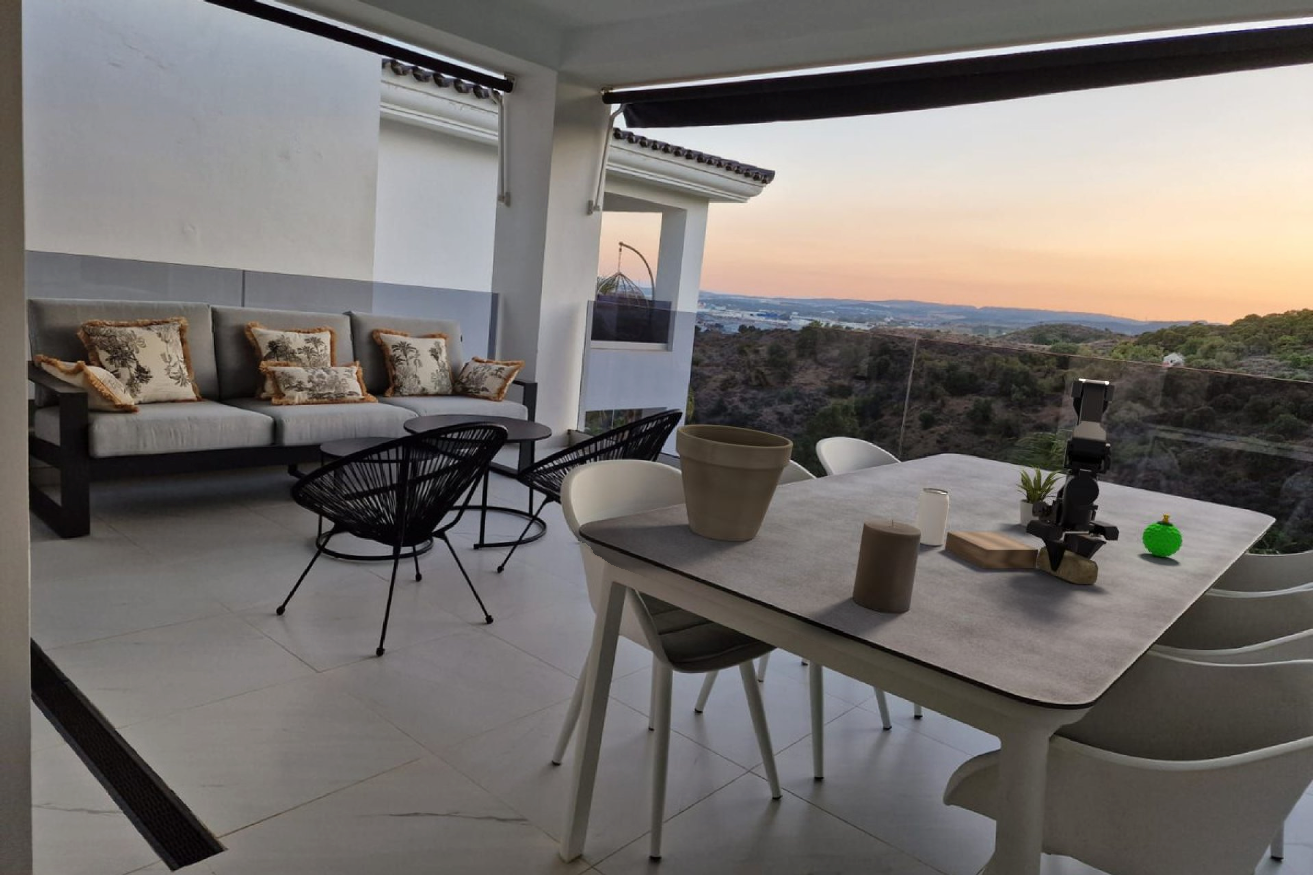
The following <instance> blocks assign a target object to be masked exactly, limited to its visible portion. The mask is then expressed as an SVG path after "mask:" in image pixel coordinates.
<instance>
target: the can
mask: <svg viewBox="0 0 1313 875" xmlns="http://www.w3.org/2000/svg"><path fill="white" fill-rule="evenodd" d="M949 493H950V492H949V491H947V490H945V489H941V488H935V487H922V490H921V492H920V494H919V498H918V503H917V508H916V509H917V511H916V517H915V525H914V527H916V528H918V529H920V530H921V539H920V544H921V545H925V546H928V547H929V546H931V547H939V546H941V545H943V544H944V541H945V532H946V526H947V519H948V513H949V506H950V498H949Z"/></svg>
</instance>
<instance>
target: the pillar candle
mask: <svg viewBox="0 0 1313 875" xmlns="http://www.w3.org/2000/svg"><path fill="white" fill-rule="evenodd" d="M920 539H921V530H920V529H918V528H916V527H915V526H913V525H911V524H910V525H909V524H907V523H903V522H902V523H901V522H898V521H894V518H892V519H891V520H887V519H877V518H876V519H867V520H865V521H863V527H862V533H861V539H860V546H859V552H858V558H857V559H858V560H857V566H856V570H855V578H854V586H853V591H852V598H853V601H854V602H855V603H857V605H860V606H861V607H865V608H867V609H871V610H874V611H877V612H881V613H887V614H888V613H891V614H899V613H906V612H908V611H909V610H910V608H911V602H912V596H913V590H914V583H915V577H916V576H915V575H916V569H917V564H918V558H919V551H920Z"/></svg>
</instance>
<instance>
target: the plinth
mask: <svg viewBox="0 0 1313 875" xmlns="http://www.w3.org/2000/svg"><path fill="white" fill-rule="evenodd" d="M944 550H945V551H947V552H950V553H952V555H953V554H954V555H956V556H958V557H960V558H962V559H964V560H966V561H968V562H970V563H973V564H974V565H976V566H979V567H980V568H983V569H1035V568H1036V566H1037V559H1038V556H1039V549H1038V548H1037V547H1034V546H1030V545H1028V544H1026V543H1023V542H1022V541H1018V540H1017V539H1014V538H1011V537H1010V536H1006V535H1004V534H1002V533H999V532H996V531H947V533H946V540H945V547H944Z"/></svg>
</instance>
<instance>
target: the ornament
mask: <svg viewBox="0 0 1313 875" xmlns="http://www.w3.org/2000/svg"><path fill="white" fill-rule="evenodd" d="M1162 516H1163V518H1162V520H1157V522H1152V523H1151V524H1149V525H1147V526H1146V527H1145V529H1144V531H1143V533H1141V534H1142V537H1141V539H1142V544H1143V546H1144V548H1145V549H1147V552H1149V553H1151V554H1152V555H1153V556H1156V557H1158V556H1161V557H1163V558H1165V557H1171V556H1172V555H1175V554H1176V553H1177V552H1179V551H1180V549H1181V547H1182V546H1183V545H1182V544H1183V541H1184V540H1183V536H1182V534H1181V531H1180V530H1179V529H1178V528H1177V526H1176V525H1174V524H1173V523H1172V522H1170V520H1169V518H1170V517H1171V515H1170V514H1168V513H1167V514H1165V513H1163V515H1162Z"/></svg>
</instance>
